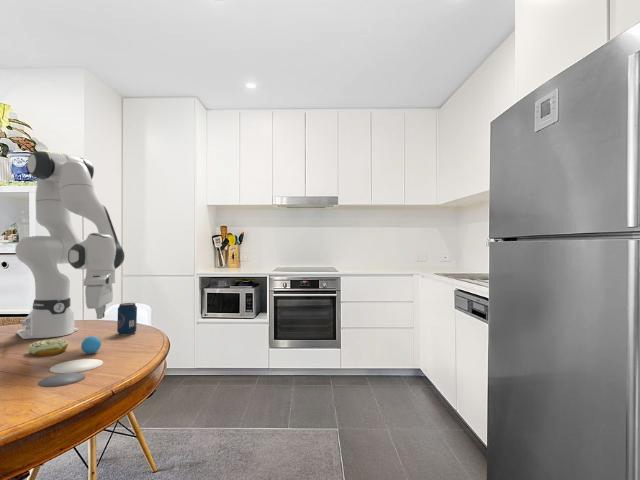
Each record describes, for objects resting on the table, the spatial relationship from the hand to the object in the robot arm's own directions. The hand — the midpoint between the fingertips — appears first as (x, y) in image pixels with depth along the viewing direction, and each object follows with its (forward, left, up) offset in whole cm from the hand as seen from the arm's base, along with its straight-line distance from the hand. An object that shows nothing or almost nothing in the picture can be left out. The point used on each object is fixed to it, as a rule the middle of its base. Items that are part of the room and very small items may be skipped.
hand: (100, 318), depth 131 cm
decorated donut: (-6, -13, -10) cm, 18 cm away
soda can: (-12, +17, -10) cm, 23 cm away
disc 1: (+26, -23, -10) cm, 36 cm away
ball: (+7, -6, -7) cm, 11 cm away
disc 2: (+17, -15, -10) cm, 25 cm away
